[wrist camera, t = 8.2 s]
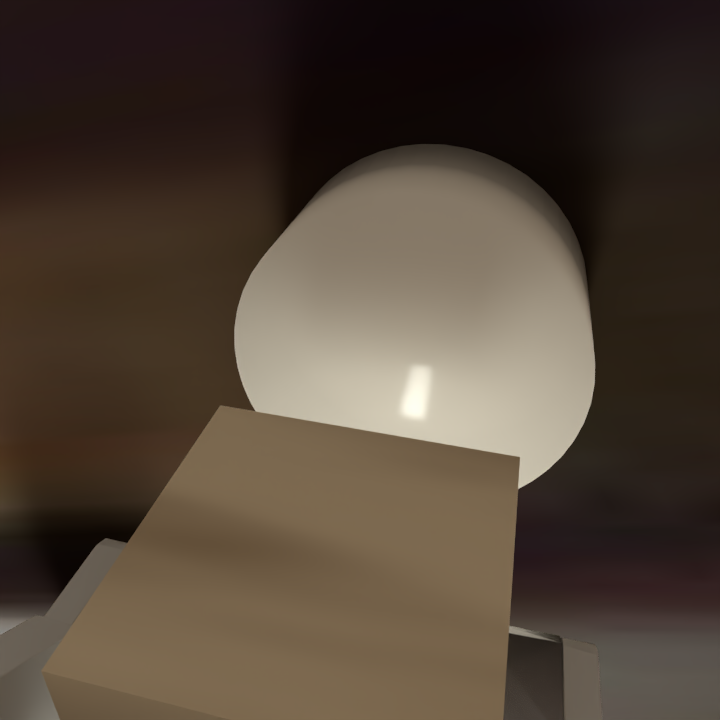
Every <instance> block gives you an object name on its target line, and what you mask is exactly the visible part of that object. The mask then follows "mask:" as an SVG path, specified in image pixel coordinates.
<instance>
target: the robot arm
mask: <svg viewBox="0 0 720 720" xmlns="http://www.w3.org/2000/svg"><path fill="white" fill-rule="evenodd" d="M126 544H127V543H125V542H121V541H116V540H111V539H107V538H105V539H104V540H103V541H101V542H100V543H98V544H97V545H96V546H95V547H94V549H93V550H92V551H91V553H90V554H89V556H88V557H87V558H86V560H85V561H84V562H83V564H82V565H81V567H80V568H79V569H78V571H77V572H76V573H75V575H74V576H73V578H72V579H71V580H70V582H69V583H68V584H67V586H66V587H65V589H64V590H63V591H62V593H61V594H60V595H59V597H58V598H57V600H56V601H55V602H54V604H53V605H52V606H51V608H50V609H49V611H48V612H47V613H46V615H45V616H44V617H43V616H39V615H35V616H33V617H32V618H30V619H28V620H26V621H25V622H23V623H21V624H19V625H18V626H16V627H14V628H12V629H10V630H9V631H7V632H5V633H3V634H2V635H0V720H60V719H59V716H58V713H57V711H56V708H55V706H54V703H53V701H52V698H51V695H50V693H49V690H48V688H47V685H46V682H45V680H44V677H43V675H42V672H41V670H42V669H43V667H44V666H45V664H46V663H47V661H48V660H49V658H50V657H51V655H52V654H53V652H54V651H55V650H56V648H57V647H58V645H59V644H60V642H61V641H62V639H63V638H64V636H65V635H66V633H67V632H68V630H69V629H70V627H71V626H72V624H73V623H74V621H75V620H76V618H77V617H78V615H79V614H80V613H81V611H82V610H83V608H84V607H85V605H86V604H87V602H88V601H89V599H90V598H91V596H92V595H93V593H94V592H95V590H96V589H97V587H98V586H99V584H100V583H101V581H102V580H103V578H104V577H105V576H106V574H107V573H108V571H109V570H110V568H111V567H112V565H113V564H114V562H115V561H116V559H117V558H118V556H119V555H120V553H121V552H122V550H123V549H124V547H125V546H126ZM503 720H603V719H602V703H601V687H600V671H599V655H598V650H597V648H596V646H595V645H594V644H591V643H586V642H581V641H576V640H571V639H566V638H560V636H557V635H552V634H547V633H542V632H537V631H532V630H527V629H522V628H517V627H512V626H509V637H508V653H507V669H506V684H505V700H504V715H503Z"/></svg>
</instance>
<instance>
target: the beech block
mask: <svg viewBox="0 0 720 720" xmlns="http://www.w3.org/2000/svg"><path fill="white" fill-rule="evenodd" d="M519 466H520V457H517V456H511V455H505V454H500V453H494V452H488V451H482V450H476V449H470V448H465V447H459V446H453V445H447V444H441V443H436V442H430V441H424V440H418V439H412V438H407V437H401V436H395V435H389V434H383V433H378V432H372V431H366V430H360V429H354V428H349V427H343V426H337V425H331V424H325V423H320V422H314V421H308V420H302V419H296V418H291V417H285V416H279V415H273V414H267V413H262V412H256V411H250V410H244V409H238V408H233V407H227V406H221V405H220V407H219V408H218V410H217V411H216V413H215V414H214V416H213V417H212V419H211V420H210V422H209V423H208V424H207V426H206V427H205V429H204V430H203V432H202V433H201V435H200V436H199V438H198V439H197V441H196V442H195V444H194V445H193V447H192V448H191V450H190V451H189V453H188V454H187V456H186V457H185V459H184V460H183V461H182V463H181V464H180V466H179V467H178V469H177V470H176V472H175V473H174V475H173V476H172V478H171V479H170V481H169V482H168V484H167V485H166V487H165V488H164V490H163V491H162V493H161V494H160V496H159V497H158V499H157V500H156V501H155V503H154V504H153V506H152V507H151V509H150V510H149V512H148V513H147V515H146V516H145V518H144V519H143V521H142V522H141V524H140V525H139V527H138V528H137V530H136V531H135V533H134V534H133V536H132V537H131V538H130V540H129V541H128V543H127V544H126V546H125V547H124V549H123V550H122V552H121V553H120V555H119V556H118V558H117V559H116V561H115V562H114V564H113V565H112V567H111V568H110V570H109V571H108V573H107V574H106V576H105V577H104V578H103V580H102V581H101V583H100V584H99V586H98V587H97V589H96V590H95V592H94V593H93V595H92V596H91V598H90V599H89V601H88V602H87V604H86V605H85V607H84V608H83V610H82V611H81V613H80V614H79V615H78V617H77V618H76V620H75V621H74V623H73V624H72V626H71V627H70V629H69V630H68V632H67V633H66V635H65V636H64V638H63V639H62V641H61V642H60V644H59V645H58V647H57V648H56V650H55V651H54V652H53V654H52V655H51V657H50V658H49V660H48V661H47V663H46V664H45V666H44V667H43V669H42V670H41V672H42V675H43V677H44V680H45V682H46V685H47V688H48V690H49V693H50V695H51V698H52V701H53V703H54V706H55V708H56V711H57V713H58V716H59V719H60V720H503V715H504V700H505V684H506V669H507V653H508V637H509V622H510V606H511V591H512V575H513V560H514V544H515V529H516V513H517V497H518V482H519Z"/></svg>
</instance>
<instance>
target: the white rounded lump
mask: <svg viewBox="0 0 720 720" xmlns="http://www.w3.org/2000/svg"><path fill="white" fill-rule="evenodd" d="M235 353H236V360H237V367H238V370H239V373H240V377H241V380H242V384H243V386H244V389H245V391H246V393H247V396H248V398H249V400H250V402H251V404H252V406H253V408H254V409H255V411H256V412H262V413H267V414H273V415H279V416H285V417H291V418H296V419H302V420H308V421H314V422H320V423H325V424H331V425H337V426H343V427H349V428H354V429H360V430H366V431H372V432H378V433H383V434H389V435H395V436H401V437H407V438H412V439H418V440H424V441H430V442H436V443H441V444H447V445H453V446H459V447H465V448H470V449H476V450H482V451H488V452H494V453H500V454H505V455H511V456H517V457H520V466H519V482H518V489H519V488H521V487H522V486H524V485H526V484H528V483H530V482H532V481H533V480H534V479H536V478H537V477H539V476H540V475H541V474H543V473H544V472H545V471H547V470H548V469H549V468H550V467H551V466H552V465H553V464H554V463H555V462H556V461H557V460H558V459H560V458H561V457H562V456H563V454H564V453H565V452H566V450H567V449H568V448H569V446H570V445H571V444H572V443H573V441H574V440H575V438H576V436H577V435H578V433H579V431H580V429H581V427H582V425H583V424H584V421H585V419H586V416H587V413H588V410H589V408H590V405H591V400H592V395H593V390H594V384H595V356H594V346H593V336H592V326H591V316H590V305H589V295H588V285H587V276H586V269H585V262H584V258H583V255H582V251H581V248H580V245H579V241H578V239H577V237H576V235H575V233H574V231H573V229H572V227H571V224H570V223H569V221H568V220H567V218H566V217H565V215H564V214H563V212H562V211H561V209H560V208H559V206H558V205H557V204H556V203H555V202H554V200H553V199H552V198H551V197H550V196H549V195H548V194H547V193H546V192H545V190H544V189H542V188H541V187H540V186H539V185H538V184H536V183H535V182H534V181H533V180H532V179H531V178H529V177H528V176H527V175H525V174H524V173H522V172H521V171H519V170H517V169H516V168H514V167H513V166H511V165H509V164H508V163H505V162H503V161H501V160H499V159H497V158H494V157H492V156H490V155H488V154H484V153H481V152H478V151H475V150H471V149H468V148H463V147H457V146H451V145H444V144H416V145H407V146H399V147H395V148H391V149H387V150H383V151H380V152H377V153H374V154H372V155H369V156H367V157H364V158H362V159H360V160H358V161H356V162H355V163H353V164H351V165H349V166H348V167H346V168H344V169H343V170H341V171H340V172H339V173H338V174H336V175H335V176H334V177H332V178H331V179H330V180H329V181H328V182H327V183H326V184H325V185H324V186H323V187H322V188H321V189H320V190H319V191H318V192H317V193H316V194H315V195H314V196H313V198H312V199H311V200H310V201H309V202H308V204H307V205H306V206H305V207H304V208H303V209H302V211H301V212H300V213H299V214H298V215H297V217H296V218H295V219H294V220H293V221H292V223H291V224H290V225H289V226H288V227H287V229H286V230H285V231H284V232H283V233H282V235H281V236H280V237H279V238H278V239H277V241H276V242H275V243H274V244H273V245H272V247H271V248H270V249H269V250H268V251H267V252H266V254H265V255H264V256H263V258H262V259H261V260H260V262H259V263H258V265H257V266H256V267H255V269H254V270H253V272H252V273H251V275H250V277H249V279H248V282H247V284H246V286H245V288H244V290H243V292H242V296H241V299H240V302H239V305H238V309H237V315H236V322H235Z"/></svg>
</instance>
